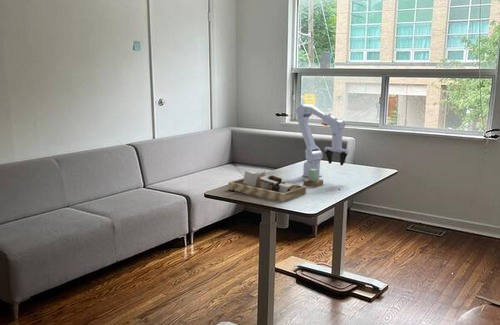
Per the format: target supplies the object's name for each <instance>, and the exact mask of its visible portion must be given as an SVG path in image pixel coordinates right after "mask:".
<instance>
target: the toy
mask: <svg viewBox="0 0 500 325" xmlns="http://www.w3.org/2000/svg"><path fill="white" fill-rule="evenodd" d="M243 178H244V181H243V183H245V184H248V185H247V186H252V187H256V188H261V189H266V190H271V191H275V192H280V193H286V192H289V191H292V190H295V189H298V188H296V187H293V185H292V184H293V183H291V184H288V183H289V182H285V181H284V179H283V178H281V177H278V176H275V175H269V174H267V175H266V170H265V171H263V172H262V171H261V172H255V173H252V172H250V171H246V170H245V171H244V175H243Z"/></svg>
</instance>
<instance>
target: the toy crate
mask: <svg viewBox="0 0 500 325" xmlns="http://www.w3.org/2000/svg"><path fill="white" fill-rule="evenodd" d="M243 181H244V177H243V178H240V179H236V180H232V181H228V190H229V189H230V190H229V191H233V190H234V191H233V192H237V191H238V193H241V192H242V193H243V194H246V195H250V196H255V197H260V198H263V199H264V198H265V199H267V200H268V199H269V200H272V201H278V202H283V203H285V202H288V201H291V200H293V199H296V198H298V197H302V196H304V195H306V194H307V185H300V184H295V183H290V182H287V183H288V184H292V185H293V187H296V188H298V189H295V190H292V191H289V192H286V193H280V192H275V191H271V190H266V189H261V188H256V187H252V186H250V185H248V184H245V183H243Z"/></svg>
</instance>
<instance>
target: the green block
mask: <svg viewBox="0 0 500 325" xmlns="http://www.w3.org/2000/svg"><path fill="white" fill-rule="evenodd" d="M318 172H319V170H318V169H309V172H308V178H307V179H308V180H311V181H317V180H318V179H319V177H318Z"/></svg>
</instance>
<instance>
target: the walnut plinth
mask: <svg viewBox="0 0 500 325" xmlns="http://www.w3.org/2000/svg"><path fill="white" fill-rule="evenodd" d="M323 185H324V179H319V178H318V180H317V181H311V180H308V178H307V179H303V184H302V186H306V187H307V186H308V187H313V188H317V187H319V186H323Z"/></svg>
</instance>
